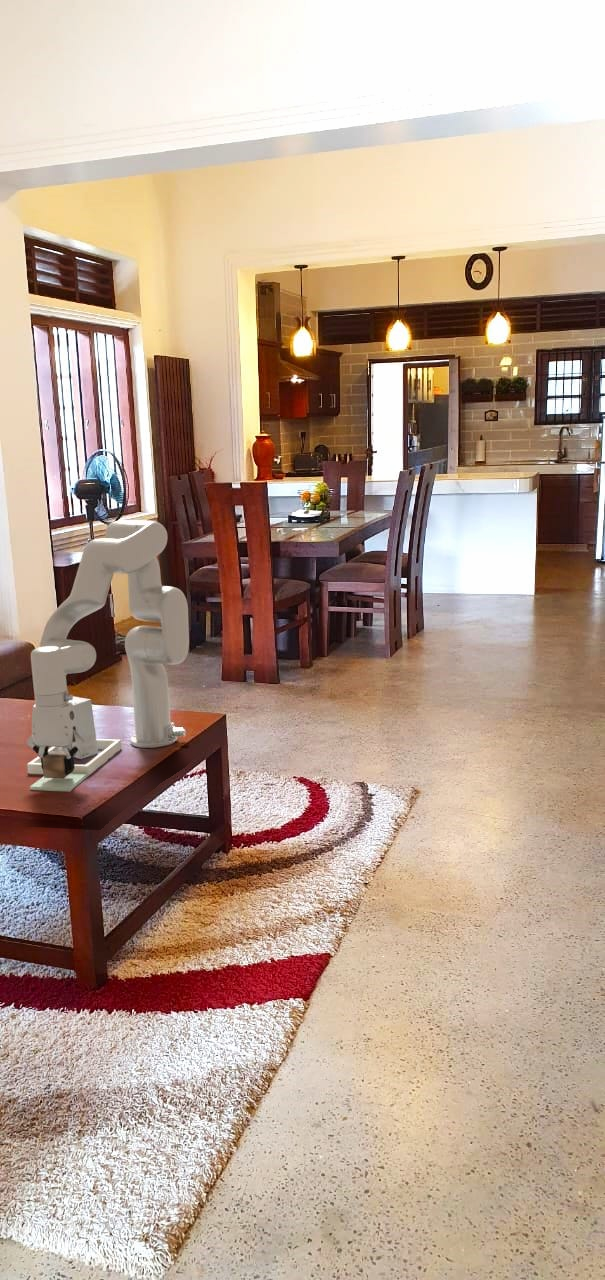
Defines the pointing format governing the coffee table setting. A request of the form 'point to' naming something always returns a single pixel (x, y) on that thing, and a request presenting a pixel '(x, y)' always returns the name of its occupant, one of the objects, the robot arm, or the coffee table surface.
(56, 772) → the walnut block
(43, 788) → the tile
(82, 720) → the skincare box
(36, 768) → the cream rectangular frame
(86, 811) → the coffee table surface
